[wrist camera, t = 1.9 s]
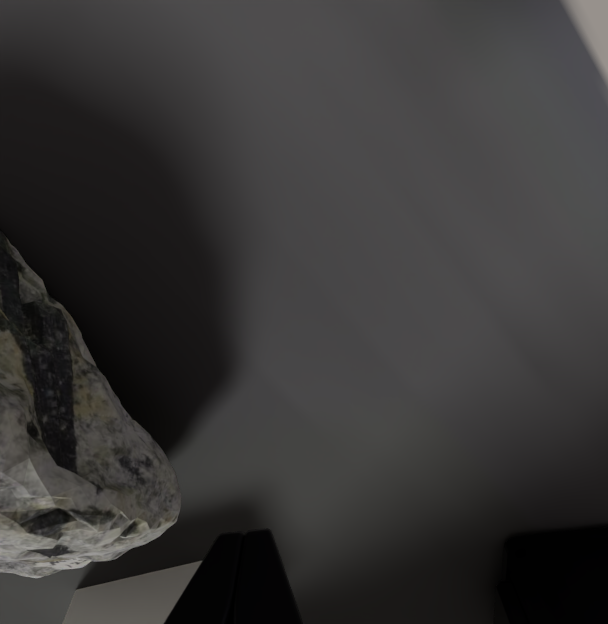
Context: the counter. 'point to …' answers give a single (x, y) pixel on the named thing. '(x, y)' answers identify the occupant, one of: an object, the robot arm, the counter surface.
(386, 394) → the counter surface
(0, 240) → the rock
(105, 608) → the module
